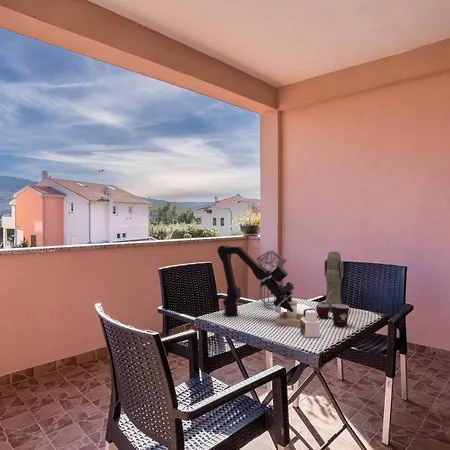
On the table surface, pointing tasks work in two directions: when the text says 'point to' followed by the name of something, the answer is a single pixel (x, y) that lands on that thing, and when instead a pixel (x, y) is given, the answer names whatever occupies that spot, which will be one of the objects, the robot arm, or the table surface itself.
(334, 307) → the coffee mug
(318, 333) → the medicine bottle
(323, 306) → the mate gourd
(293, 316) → the ceramic jar
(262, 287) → the geometric lantern
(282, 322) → the open box
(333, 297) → the stone statue
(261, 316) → the table surface
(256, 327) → the table surface
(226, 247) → the robot arm
